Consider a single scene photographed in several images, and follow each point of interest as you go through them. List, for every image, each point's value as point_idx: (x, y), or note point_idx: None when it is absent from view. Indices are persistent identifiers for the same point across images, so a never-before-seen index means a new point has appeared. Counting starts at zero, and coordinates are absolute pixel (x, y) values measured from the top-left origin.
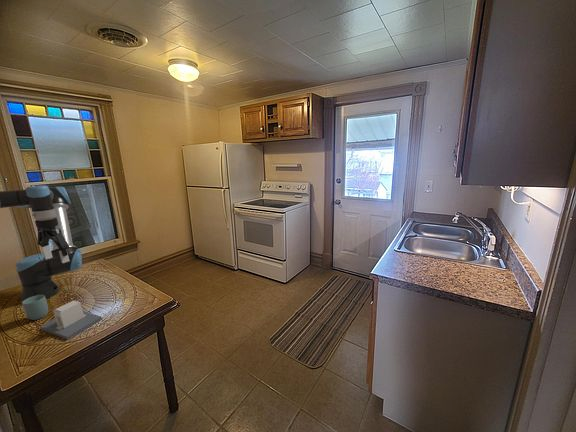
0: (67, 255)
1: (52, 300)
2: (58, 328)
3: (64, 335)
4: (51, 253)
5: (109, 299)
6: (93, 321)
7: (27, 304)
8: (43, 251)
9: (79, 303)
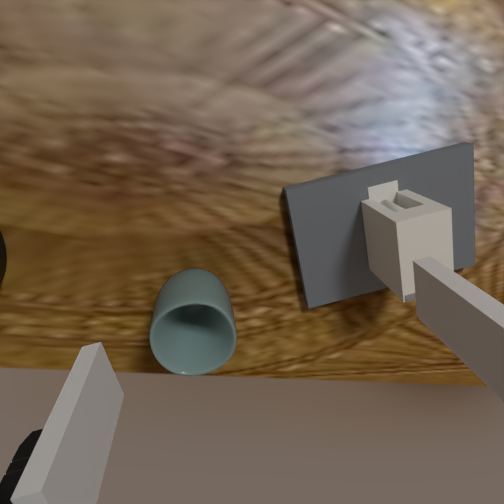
0: (477, 294)
1: (53, 224)
2: None
3: (457, 268)
4: (86, 379)
5: (320, 39)
6: (473, 177)
7: (226, 360)
8: (91, 489)
9: (450, 212)
